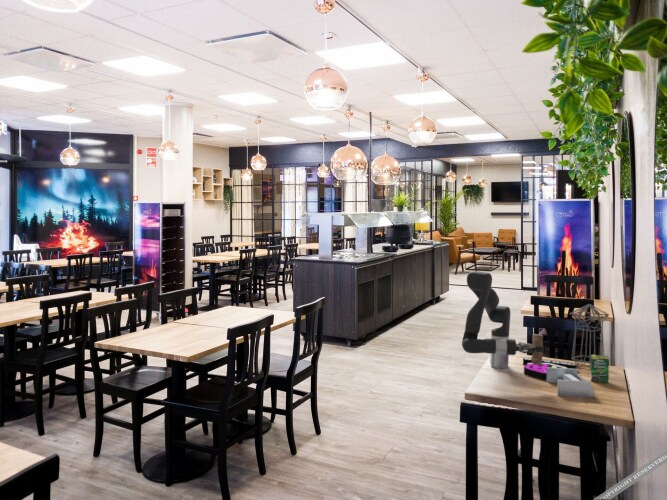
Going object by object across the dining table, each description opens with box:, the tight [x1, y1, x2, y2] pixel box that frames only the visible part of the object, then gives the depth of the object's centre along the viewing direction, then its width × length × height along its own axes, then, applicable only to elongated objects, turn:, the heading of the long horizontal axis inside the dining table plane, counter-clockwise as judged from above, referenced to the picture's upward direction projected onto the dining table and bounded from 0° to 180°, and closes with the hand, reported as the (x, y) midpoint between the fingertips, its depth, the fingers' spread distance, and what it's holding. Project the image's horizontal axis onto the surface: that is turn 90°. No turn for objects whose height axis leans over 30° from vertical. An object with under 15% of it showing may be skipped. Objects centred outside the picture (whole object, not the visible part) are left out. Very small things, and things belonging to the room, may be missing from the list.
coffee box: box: [590, 354, 610, 384], centre depth 263 cm, size 8×3×13 cm, turn 67°
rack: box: [545, 367, 595, 399], centre depth 250 cm, size 16×23×7 cm
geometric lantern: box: [569, 303, 610, 371], centre depth 288 cm, size 16×16×35 cm
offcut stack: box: [564, 374, 580, 381], centre depth 249 cm, size 4×12×6 cm, turn 178°
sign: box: [522, 357, 578, 381], centre depth 279 cm, size 27×4×30 cm
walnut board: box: [531, 333, 544, 365], centre depth 252 cm, size 4×3×14 cm
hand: (542, 348), depth 252 cm, fingers closed on walnut board, 3 cm apart
